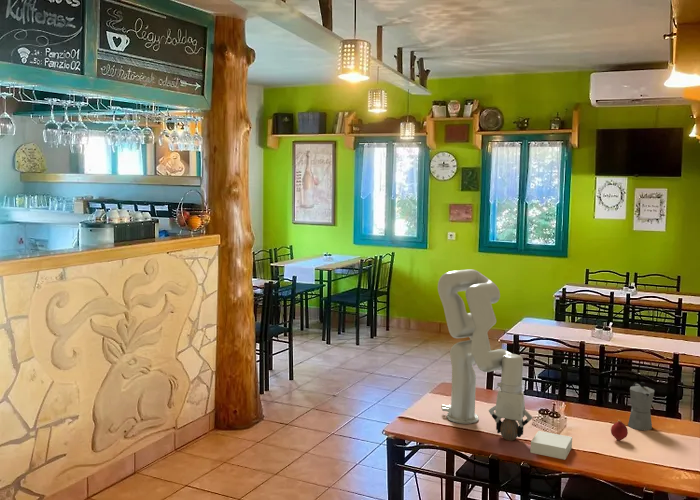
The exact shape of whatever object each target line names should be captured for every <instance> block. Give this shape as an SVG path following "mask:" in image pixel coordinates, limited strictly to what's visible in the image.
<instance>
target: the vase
mask: <svg viewBox="0 0 700 500" xmlns="http://www.w3.org/2000/svg"><path fill="white" fill-rule="evenodd" d="M501 421H502V423H501V426H500V433H499V434H500V435H501V437H502V439H503V440H505V441H509V442H510V441H511V442H512V441H515V440H516V439H517V438H518V427H519V423H518V421H516V420H510V419H505V418H503V420H501Z"/></svg>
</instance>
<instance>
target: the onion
mask: <svg viewBox="0 0 700 500" xmlns="http://www.w3.org/2000/svg"><path fill="white" fill-rule="evenodd" d="M610 434H611V436H612V437H614V439H615V440H616V441H618V442H620V441H623V440H624V439H625V438H627V436H628V435H629V433H628V426H627V425H626V424H625V423H624V422H623V421H621V420H620V419H617V422H615V423H613V424H612V426H610Z"/></svg>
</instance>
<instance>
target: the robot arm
mask: <svg viewBox="0 0 700 500" xmlns="http://www.w3.org/2000/svg"><path fill="white" fill-rule="evenodd" d="M437 292H438V295H439V298H440V301H441V304H442V307H443V311H444V316H445V321H446V325H447V328H448V329H447V330H448V332H449V335H450V336H451V337H452V338H454V339H465V338H469V339H468V340H463V341H458V342H456V343H455V344H453V345H452V346H451V348H450V351H449V356H450V364H451V394H450V395H451V396H450V397H451V398H450V404H449V405H448V404H444V403H443V404H441V410H442V411H443V412H447V414H446V419H447V420H449V421H450V422H452V423H455V424H456V423H457V424H463V425H464V424H465V425H467V424H475V423H477V422H478V421H479V416H478V414H477V413H476V412H475V411H476V389H477V388H476V383H477V374H476V372H475V369H474V367H473V365H475V364H476V366H477V368H478V369H479V370H480V371H482V372H484V373H490V372H494V371H501V377H500V382H496V383H497V384H496V386H497V387H499V388H500V389H498V392H497V395H496V402H495V405H493V406H492V407H490V408H489V409H488V413H489V414H490V415H491V417H492V418H493V419H494V422H495V423H496V426H495V430H496V431H497V434H501V433H500V426H501V423H502V421H503V420H502V419H510V420H516V422H517V423H518V426H519V427H518V436H517V438H521V437H522V436H523V435H524V427H525V425H527V424H528V423H529V422H530V421H532V419H533V416H532V415H531V414H530V413H529V412H528V411H527V410H526V405H525V404H526V403H525V393H524V392H523V391H522V390H523V370H524V369H523V367H524V359H523V356H521V355H520V354H516V353H512V352H510V351H508V350H506V349H504V348H498V349H493V350H492V349H491V343H490V339H489V335H488V334H489V333H488V332H489V330H491V328H492V327H493V326H495V325H496V323H497V318H496V314H495V312H494V309H493V308H494V307H493V305H492V304H496V303H498V302H499V300H500V298H501V293H500V289H499V287H498V286H497V284H496V283H495V282H493V281H492V280H491V279H490V278H489V277H487V276H485V275H484V274H482V272H480V271H478V270H476V269H472V268H471V269H460V270H459V269H458V270H450V271H448V272H445V273H443V274H442V275H441V276H440V278H439V280H438V281H437ZM459 292H465V298H466V301H467V304H468V308H469V311H470V312H467V310H466V304H465V302H464V300H463V298H462V297H461V296H460V295H459ZM524 417H526V419H525V420H524V419H523V418H524Z"/></svg>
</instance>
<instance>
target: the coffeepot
mask: <svg viewBox="0 0 700 500" xmlns="http://www.w3.org/2000/svg"><path fill="white" fill-rule="evenodd" d="M645 384H646V382H644V381H641V382H640V384H639V383H638V382H634V383H633V384H632V386H630V388H629V394H630V404H631V410H630V413H629V418H628V422H627V427H629V428H631V429H633V430H638V431H646V432H647V431H650V430H652V428H653V423H652V415H651V408H652V403H653V400H654V396H655V389H654V388H651V387H648V386H645Z"/></svg>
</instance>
